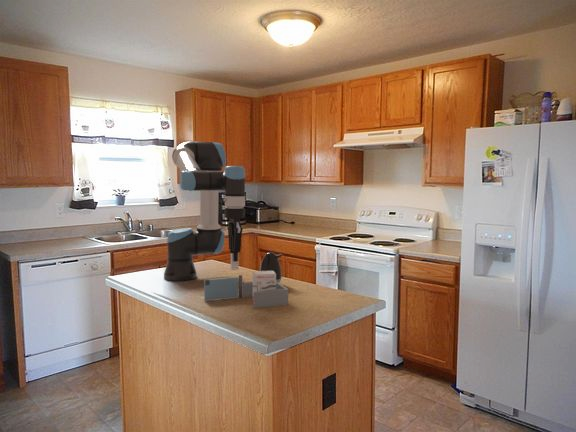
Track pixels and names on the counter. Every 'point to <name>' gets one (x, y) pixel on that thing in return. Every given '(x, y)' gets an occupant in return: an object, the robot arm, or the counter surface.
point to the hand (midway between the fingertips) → (234, 269)
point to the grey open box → (264, 295)
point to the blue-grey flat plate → (220, 288)
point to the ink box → (264, 281)
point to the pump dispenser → (272, 264)
